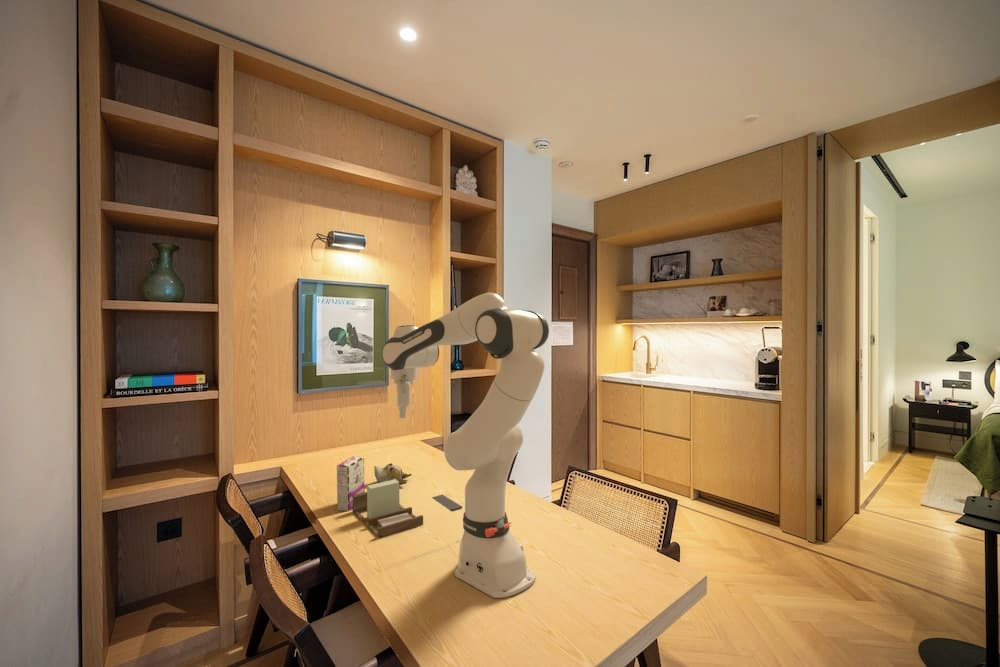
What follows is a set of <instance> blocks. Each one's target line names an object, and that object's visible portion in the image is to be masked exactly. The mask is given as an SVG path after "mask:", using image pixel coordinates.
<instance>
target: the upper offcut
mask: <svg viewBox="0 0 1000 667" xmlns="http://www.w3.org/2000/svg"><path fill="white" fill-rule="evenodd" d="M410 518H412V517H411V516H410V515H409V514H408V513H404V514H400V515H396V516H392V517H388V518H384V519H380V520H378V526H377V528H378V527H383V526H386V525H390V524H393V523H396V522H400V521H403V520H407V519H410Z"/></svg>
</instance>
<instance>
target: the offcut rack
mask: <svg viewBox="0 0 1000 667" xmlns="http://www.w3.org/2000/svg"><path fill="white" fill-rule="evenodd" d="M365 511H366V512H367V491H364V493H360V494H356V495H353V509H352V513H353V514H354V515H355V516H356V517H357V518H358V519H359V520H360V521H361V522H362V523H363V524H364V525H365V526H366V527H367V528H368V529H369V530H370V531H371V532H372V533H373V534H374V535H375V536H376V537H377V538H378V539H381V538H384V537H387V536H390V535H391V536H392V535H393V534H396V533H400V532H403V531H407V530H410V529H413V528H416V527H419V526H423V525H424V515H423V514H420V515H417V516H416V515H415V514H413V507H412V506H409V507H406V508H405V507H404V506H403V505H402V504H400V503H399V510H398V511H394V512H390V513H387V514H383V515H380V516H376V517H372V518H365V516H363V515H362V514H361V512H362V513H363V512H365ZM404 513H408V514H409V515H410V516H411V517H412V518H410V519H407V520H403V521H400V522H396V523H393V524H390V525H386V526H383V527H379V528H378V520H380V519H384V518H388V517H392V516H396V515H400V514H404ZM376 527H377V528H376Z"/></svg>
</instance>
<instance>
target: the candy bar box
mask: <svg viewBox="0 0 1000 667" xmlns="http://www.w3.org/2000/svg"><path fill="white" fill-rule="evenodd" d="M336 491H337V492H336V493H337V496H336V498H337V499H336V500H337V502H336V503H337V511H341V512H349V511H350V512H351V511H353V495H356V494H360V493H364V492H366V490H365V457H364V456H358V455H357V456H356V455H355V456H351V457H349V458H348V459H346V460H344V461H343V462H341V463H339V464H337V465H336Z"/></svg>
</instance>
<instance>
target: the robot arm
mask: <svg viewBox="0 0 1000 667" xmlns="http://www.w3.org/2000/svg"><path fill="white" fill-rule="evenodd" d="M549 333H550V328H549V323H548V321H547V320H546V319H545V317H544V316H543V315H541V313H540V314H539V313H537V312H535V311H532V310H524V309H518V308H509V307H508V306H507V304H506V301H505V300H504V299H503V298H502V296H500V295H499V294H498V293H495V292H485V293H482V294H479V295H477V296H474V297H472V298H471V299H469V300H467V301H465V302H464V303H462V304H460V305H459V306H457V307H456V308H455V309H453V310H451V311H449V312H447V313H445V314H444V315H442V316H440V317H438V318H436V319H434V320H431V321H430V322H428V323H426V324H423V325H421V326H419V327H418V326H417V325H413V324H412V325H411V324H406V325H399V326H397V327H396V328H395V329H394V332H393V336H392V337H390V338H388V340H387V341H386V342H385V343H384V345H383V346H382V350H381V358H382V360H383V362H384V364H385V365H386V366H387V367H388V368H389V369H390V378H391V380H394V381H393V384H395V385H396V395H397V397H396V399H397V401H396V402H397V404H396V405H397V407H398V410H399V418H400V419H405V418H406V412H407V411H406V410H407V408H408V407H409V406H410V402H411V401H410V399H411V398H410V397H411V385H413V384H414V381H415V380H417V379H418V375H419V374H418V373H419V372H418V371H419V369H420V368H429V367H433V366H434V365H435V364H436V363H437V362H438V360H439V357H440V348H439V347H440V346H457V345H458V346H459V345H467V344H471V343H472V344H473V343H474V342H475V343H476V342H477V341H478V343H479V344H480V346H481V347H482V348H483V349H484V350H486V351H487V352H488V353H489V355H490V356H491V357H492V358H493V359H496V360H500V359H501V363H500V364H501V365H500V368H499V369H498V371H497V373H496V375H495V377H494V380H493V381H492V383H491V385H490V388H489V390H488V391H487V394H486V395H485V396H484V399H483V400H482V402H481V403H480V404H479V406H478V407H477V408H476V409H475V411H474V412H473V413H472V414H470V415H471V416H469V417H468V419H466V421H465V422H464V423H463V424H462V425H461V426H460V427H458V429H457V430H455V431H454V432H452V433H451V434H450V435H448V437H447V438H446V440H445V442H444V447H443V448H444V449H443V451H444V452H443V453H444V457H445V459H446V461H447V463H448V465H449V466H450V467H451V468H453V469H454V470H455V471H473V470H474V471H473V473H472V475H471V476H470V477H469V479H468V480H467V481H466V484H465V487H464V513H463V517H462V526H463V527H462V528H463V534H462V538H461V539H460V542H459V553H458V565H457V567H456V569H455V570H454V576H455V577H456V578H458V579H460V580H461V581H464V582H465V583H467V584H469V585H470V586H472V587H473V588H476V589H477V590H479V591H481V592H483V593H485V594H486V595H488V596H490V597H491V598H493V599H502V598H507V597H510V596H513V595H516V594H519V593H521V592H523V591H525V590H526V589H528V588H530V587H531V586H532V585H533V584H534V583H535V582H536V580H537V577H536V574H535V573H534V571H533V570H532V569H530V568H529V566H528V565H527V559H526V554H525V553H524V547H523V543H518V541H517V539H515V537H514V535H513V533H511V530H510V527H512V525H511V524H512V522H511V521H510V522H509V520H508V515H507V512H506V487H507V482H508V477H509V473H510V470H511V467H512V465H513V461H514V459H515V457H516V455H517V453H518V452H519V451H520V449H521V447H522V445H523V442H524V436H523V433H522V430H521V428H520V426H519V425H518V424H520V422H521V420H522V419H523V418H524V415H525V413H526V412H527V410H528V408H529V406H530V404H531V402H532V400H533V399H534V397H535V394H536V393H537V390H538V388H539V386H540V383H541V381H542V377H543V374H544V371H545V362H544V359H543V358H542V356H541V355H540V354H539V353H538V352H537V351H535V350H536V349H538V348H540V347H542V346H543V345H544V344H545V343H546V342H547V340H548V339H549Z"/></svg>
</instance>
